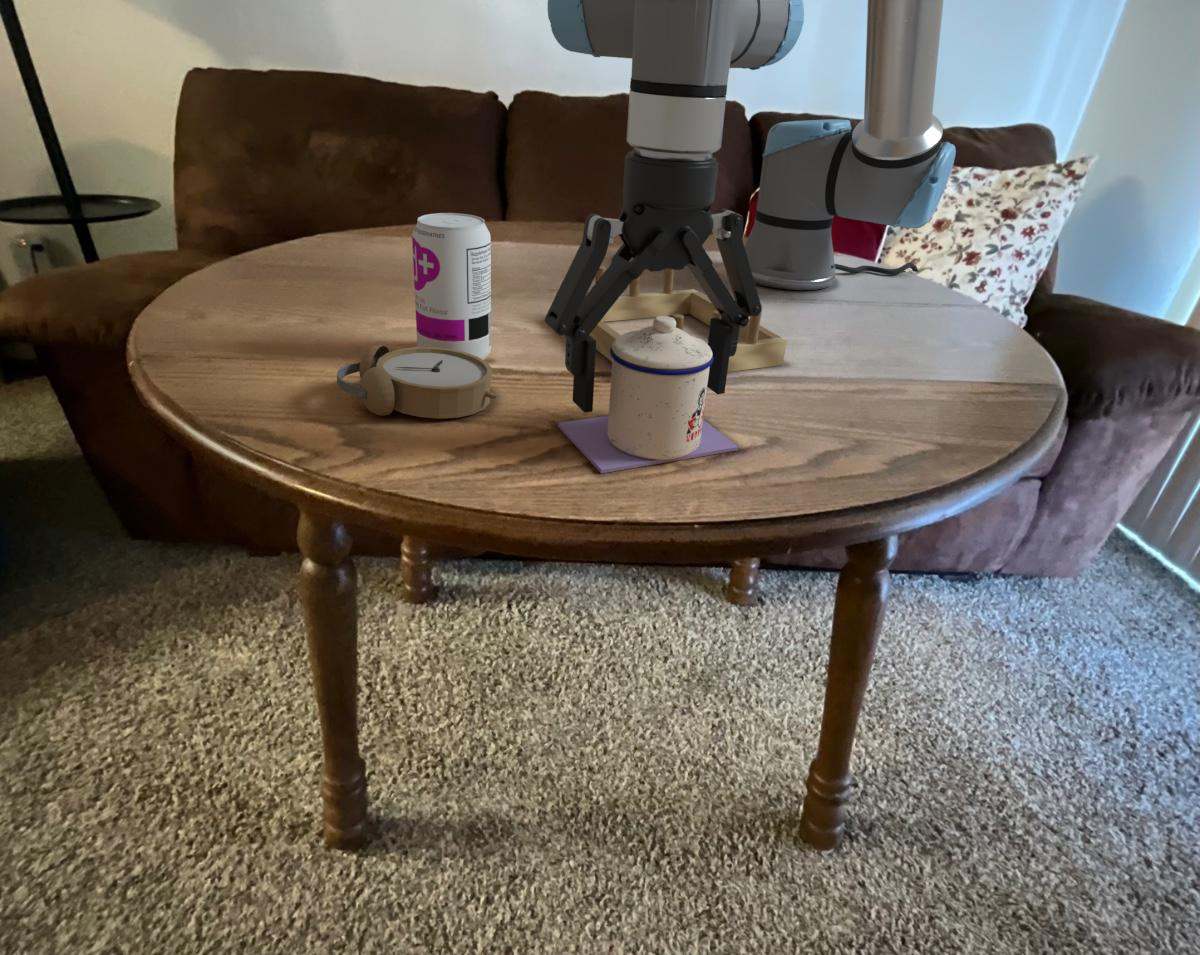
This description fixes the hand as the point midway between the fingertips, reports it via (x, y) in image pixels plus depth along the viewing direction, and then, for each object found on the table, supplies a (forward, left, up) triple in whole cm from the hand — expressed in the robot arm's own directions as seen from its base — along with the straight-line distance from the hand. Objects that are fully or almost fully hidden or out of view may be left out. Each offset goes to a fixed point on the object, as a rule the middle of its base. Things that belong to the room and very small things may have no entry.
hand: (650, 397), depth 78 cm
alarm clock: (+18, -15, -4) cm, 24 cm away
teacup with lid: (-1, 0, -4) cm, 4 cm away
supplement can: (+11, -26, -4) cm, 29 cm away
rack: (-15, -23, -4) cm, 28 cm away
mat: (0, 0, -4) cm, 4 cm away
